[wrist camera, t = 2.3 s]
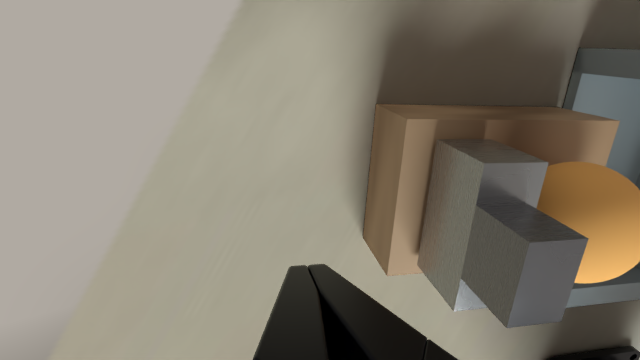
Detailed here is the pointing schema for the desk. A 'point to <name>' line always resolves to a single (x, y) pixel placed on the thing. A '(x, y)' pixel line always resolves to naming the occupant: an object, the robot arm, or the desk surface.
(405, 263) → the tan block
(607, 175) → the ball
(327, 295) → the robot arm
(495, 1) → the desk surface
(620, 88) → the tray
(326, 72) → the desk surface
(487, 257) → the gray zigzag block
